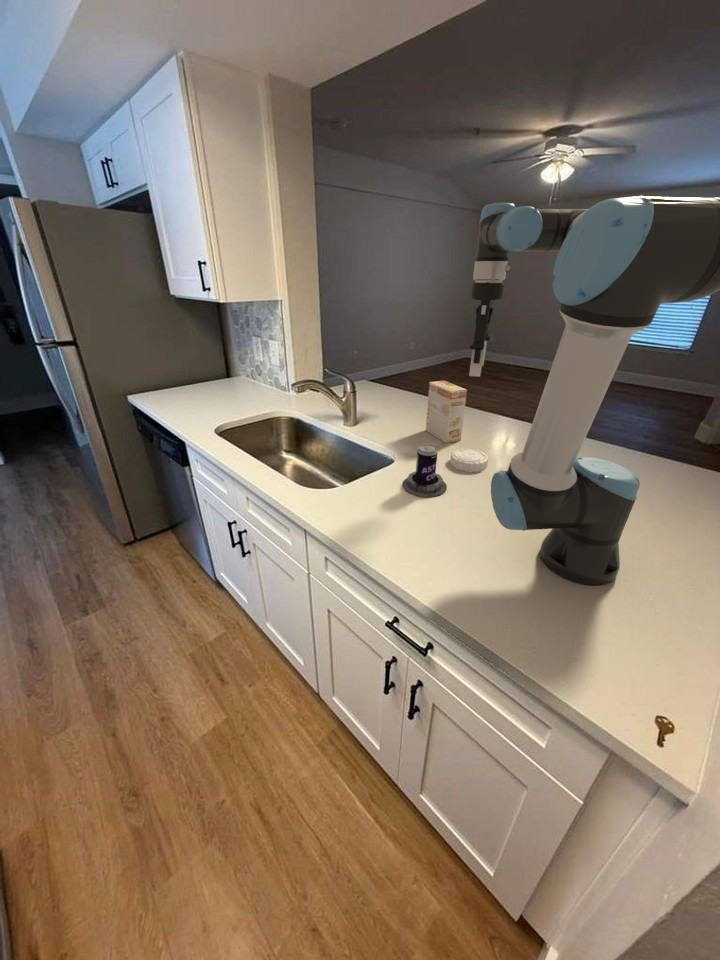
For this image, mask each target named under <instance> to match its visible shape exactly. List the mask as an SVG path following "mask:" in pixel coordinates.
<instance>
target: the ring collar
mask: <svg viewBox="0 0 720 960" xmlns="http://www.w3.org/2000/svg"><path fill="white" fill-rule="evenodd" d="M415 475H416V471H413V472H411V473H409V474H408V476H407V478H405V479H403V481H402V488H403V490H404V491H405V492H407V493H408V494H410V495H412V496H415V497H419V498H436V497H440V496H442V495H443V494H445V493H446V491H447V489H448V485H447V483H446V482H445V481H444V479H443V477H442V476H441V475H440V474H438V473H437V472H436V473H435V483H434V484H431V485H423V484H418V483H416V482H415Z"/></svg>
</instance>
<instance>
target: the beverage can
mask: <svg viewBox="0 0 720 960" xmlns="http://www.w3.org/2000/svg"><path fill="white" fill-rule="evenodd" d="M437 461H438V451H437V447H436V446H434V445H432V444H422V445H419V446H418V449H417V451H416V464H415V472H416V475H415V482H416V483H418V484H423V485H431V484H434V483H435V473H436V474H437V471H436V470H437V464H438V463H437Z"/></svg>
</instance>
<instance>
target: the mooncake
mask: <svg viewBox="0 0 720 960" xmlns="http://www.w3.org/2000/svg"><path fill="white" fill-rule="evenodd" d="M449 463H450V464H451V466H453V468H454V469H457V470H459V471H462V472H470V473H473V472H474V473H477V472H482V471H485V470H486V469H487V468H488V465H489V464H488V463H489V456H488V455H487V453H486V454H485V453H484V452H483V451H481V450H477V449H472V448H471V449H470V448H459V449H457V450H454V451H453V452H451V454H450V461H449Z"/></svg>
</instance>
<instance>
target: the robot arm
mask: <svg viewBox="0 0 720 960" xmlns="http://www.w3.org/2000/svg"><path fill="white" fill-rule="evenodd" d="M476 245H477V246H476V254H475V261H474V266H473V267H474V268H473V274H472V275H473V276H472V279H473V280H474V282H473V284H472V285H471V286H472V287H471V294H470V298H471V299H472V300H474V301H475V300H477V301H480V304H479V305H478V307H476V310H475V331H474V336H473V341H472V345H471V344H470V345H469V350H472V351H471V358H470V365H469V372H468V373H469V374H468V376H469V377H478V378H479V377H480V378H481V375H482V367H483V366H484V365H485V358H486V351H487V344H488V343H487V342H488V341H489V342H490V340H491V336H489V328H490V327H489V326H490V325H491V321H492V316H493V312H494V307H492V306H493V302H492V301H499V300H502V299H503V297H504V291H505V283H504V282H503V281H505V279H506V276H507V272H506V271H509V270H511V267H510V265H508V263H509V256H510V252H512V253H514V252H558V254H557V256H556V259H555V263H554V268H553V273H552V276H553V278H554V280H553V281H552V291H553V295H554V298H556V299H557V301H558V302H560V307H559V314H560V316H561V317H562V319H563V320H564V322H565V327H564V328H563V329H564V330H563V333H562V335H561V337H560V338H561V339H560V341H559V344H558V348H557V349H556V350H557V351H556V353H555V356H554V358H553V363H552V365H551V368H550V371H549V374H548V377H547V378H546V379H547V380H546V383H545V385H544V388H543V391H542V394H541V397H540V400H539V403H538V407H537V409H536V412H535V415H534V418H533V421H532V424H531V425H530V426H531V427H530V429H529V432H528V436H527V437H526V441H525V444H524V447H523V451H521V452H518V453H516V454H514V455H513V457H512V458H511V459H510V463H509V465H508V468H507V470H506V471H505V470H500V471H496V472H494V474H493V475H492V478H491V481H490V483H491V484H490V496H491V504H492V507H493V510H494V511H493V512H494V514H495V516H496V519H497V520H498V522H499V524H500V525H501V526H502V527H504V528H505V529H506V530H507V529H508V530H510V531H511V530H512V531H524V532H525V531H533V530H550V531H549V532H548V533H547V535H546V536H545V538H543V540H542V542H541V545H540V549H539V556H540V559H541V561H542V562H543V563H544V565H545V566H546V567H547V569H548V570H551V571H552V572H553V573H555V574H557V576H560V577H561V578H563V579H566V580H568V581H571V582H574V583H577V584H581V585H586V586H588V585H589V586H602V585H607V584H610V583H611V582H613V581H614V580H615V579H616V578H617V575H618V573H619V570H620V565H621V562H620V561H621V560H620V559H621V558H620V544H619V542H620V539H621V536H622V534H623V531H624V529H625V526H626V524H627V521H628V519H629V517H630V514H631V512H632V509H633V508H634V505H635V502H636V500H638V499H637V498H638V496H637V494H638V491H639V488H640V485H641V484H640V480H639V478H638V476H637V475H636V474H635V473H634V472H632V471H631V470H630V469H628V468H626V467H624V466H623V465H620V464H618V463H615V462H612V461H609V460H607V459H602V458H598V457H591V456H581V457H578V455H579V453H580V451H581V448H582V446H583V445H584V442H585V440H586V438H587V436H588V433H589V431H590V428H591V427H592V424H593V422H594V420H595V417H596V416H597V413H598V411H599V409H600V407H601V405H602V402H603V401H604V397H605V396H606V393H607V391H608V388H609V387H610V385H611V382H612V381H613V378H614V376H615V374H616V371H617V369H618V367H619V364H620V362H621V360H622V358H623V356H624V354H625V352H626V349H627V347H628V345H629V342H630V341H631V338H632V336H633V335H634V334H636V333H638V332H641V331H642V330H644V329H646V328H648V327H649V326H651V325H652V323H653V321H654V318H655V316H656V313H657V312H658V310H659V308H660V306H661V304H674V303H675V304H676V303H678V304H679V303H689V302H693V301H697V300H700V299H701V300H702V299H703V298H706V297H709V296H711V295H714V294H715V293H717V292H719V291H720V197H675V196H673V197H672V196H670V197H669V196H644V195H638V196H634V195H633V196H627V197H617V198H615V197H614V198H608V199H605V200H602V201H599V202H597V203H596V204H593V206H591V207H590V208H563V209H562V208H560V209H559V208H557V209H556V208H535V207H534V206H531V205H530V206H529V205H525V206H516V205H515V204H514V203H511V202H494V203H489V204H486V205H485V206H483V208H482V209H481V214H480V220H479V223H478V236H477V244H476Z"/></svg>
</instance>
